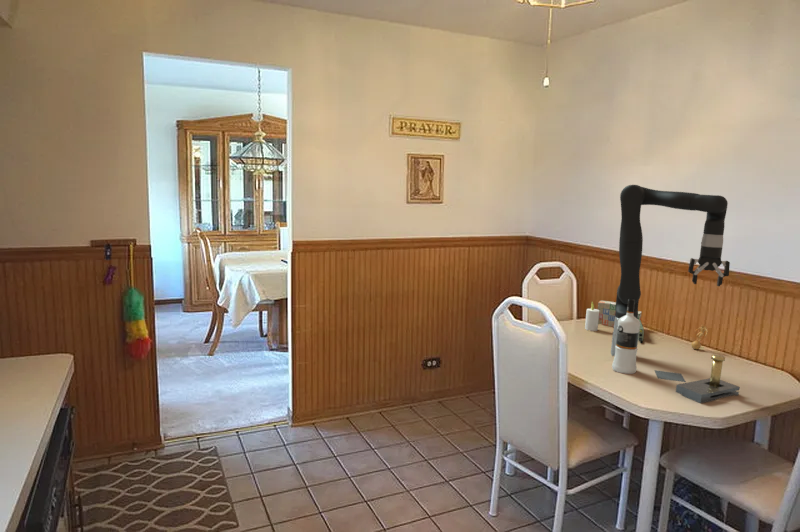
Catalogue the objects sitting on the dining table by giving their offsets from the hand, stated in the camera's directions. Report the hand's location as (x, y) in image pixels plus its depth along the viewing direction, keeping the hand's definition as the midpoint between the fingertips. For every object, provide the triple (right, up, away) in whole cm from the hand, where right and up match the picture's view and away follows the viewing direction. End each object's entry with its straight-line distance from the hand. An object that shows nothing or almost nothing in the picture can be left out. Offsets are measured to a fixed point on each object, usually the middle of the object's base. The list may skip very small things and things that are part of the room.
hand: (706, 285), depth 220 cm
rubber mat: (-17, -37, -4) cm, 41 cm away
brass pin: (-8, -39, -19) cm, 44 cm away
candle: (-25, -26, +63) cm, 72 cm away
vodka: (-33, -35, +1) cm, 49 cm away
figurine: (+15, -32, +35) cm, 50 cm away
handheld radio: (-5, -29, +52) cm, 59 cm away
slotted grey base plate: (-12, -40, -21) cm, 46 cm away
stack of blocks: (-7, -25, +72) cm, 77 cm away
